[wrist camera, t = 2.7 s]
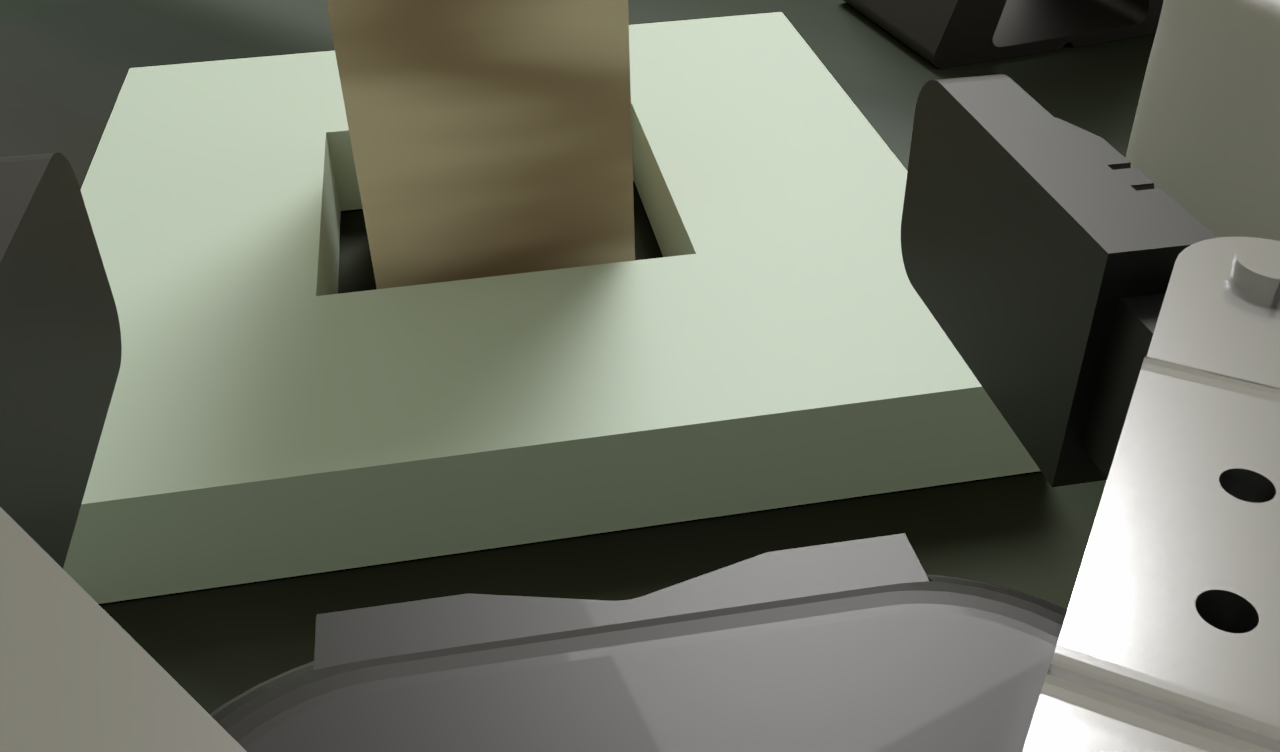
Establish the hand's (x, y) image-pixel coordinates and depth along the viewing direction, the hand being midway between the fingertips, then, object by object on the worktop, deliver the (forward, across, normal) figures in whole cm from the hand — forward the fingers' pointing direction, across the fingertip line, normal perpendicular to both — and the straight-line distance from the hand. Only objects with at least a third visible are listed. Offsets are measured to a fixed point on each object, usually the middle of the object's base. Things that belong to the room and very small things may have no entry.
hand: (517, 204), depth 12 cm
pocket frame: (+12, 0, +8) cm, 15 cm away
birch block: (+12, 0, +8) cm, 15 cm away
